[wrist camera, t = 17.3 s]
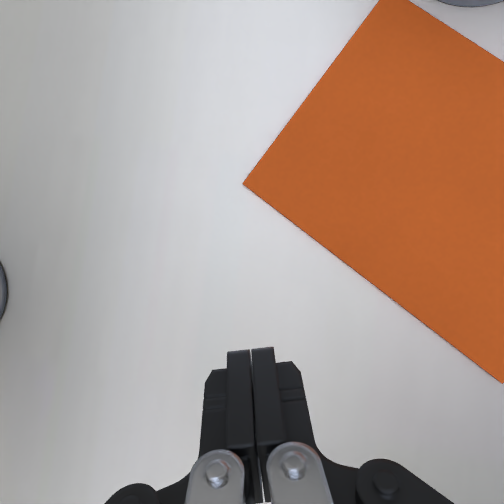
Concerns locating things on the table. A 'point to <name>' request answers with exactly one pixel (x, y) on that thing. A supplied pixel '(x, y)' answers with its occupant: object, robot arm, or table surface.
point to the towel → (405, 173)
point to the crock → (470, 2)
